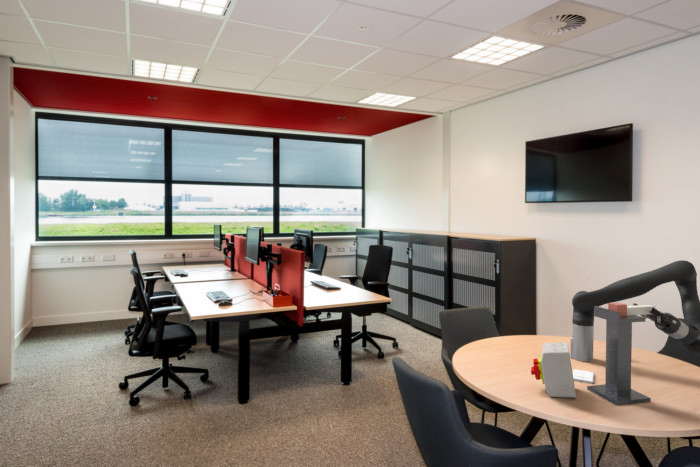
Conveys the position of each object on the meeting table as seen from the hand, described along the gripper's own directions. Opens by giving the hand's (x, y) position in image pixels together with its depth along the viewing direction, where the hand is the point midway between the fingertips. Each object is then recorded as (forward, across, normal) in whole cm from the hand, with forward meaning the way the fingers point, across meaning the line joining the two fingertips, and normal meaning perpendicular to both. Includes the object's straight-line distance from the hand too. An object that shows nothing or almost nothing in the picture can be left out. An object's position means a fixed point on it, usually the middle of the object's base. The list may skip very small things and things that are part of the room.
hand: (641, 307), depth 170 cm
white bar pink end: (+2, 0, +4) cm, 5 cm away
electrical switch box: (+10, -10, +46) cm, 48 cm away
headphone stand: (-8, 0, +35) cm, 36 cm away
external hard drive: (-9, -20, +36) cm, 42 cm away
